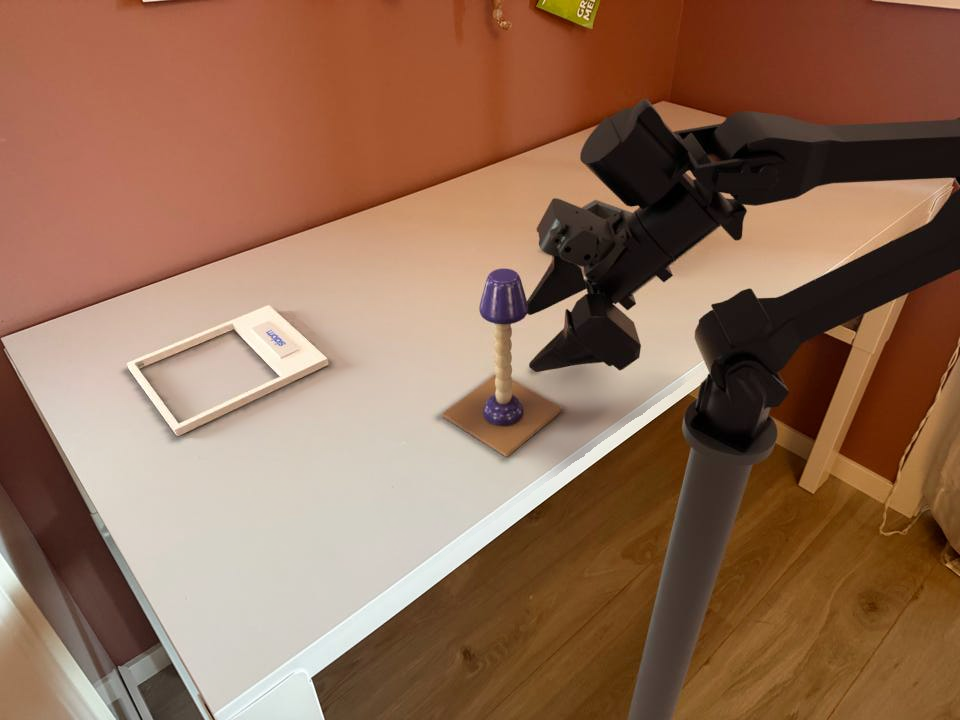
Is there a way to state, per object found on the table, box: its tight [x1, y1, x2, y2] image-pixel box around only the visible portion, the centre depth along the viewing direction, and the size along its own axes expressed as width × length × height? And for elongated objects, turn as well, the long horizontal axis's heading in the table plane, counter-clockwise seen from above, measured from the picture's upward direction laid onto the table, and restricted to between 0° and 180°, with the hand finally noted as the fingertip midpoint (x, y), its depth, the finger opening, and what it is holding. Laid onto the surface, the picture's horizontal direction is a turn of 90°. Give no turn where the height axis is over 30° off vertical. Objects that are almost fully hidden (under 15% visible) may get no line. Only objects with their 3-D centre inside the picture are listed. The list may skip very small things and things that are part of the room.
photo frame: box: [126, 304, 329, 437], centre depth 83 cm, size 15×1×18 cm
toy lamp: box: [478, 267, 528, 426], centre depth 71 cm, size 5×5×17 cm
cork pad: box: [442, 374, 563, 458], centre depth 76 cm, size 9×9×1 cm
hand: (528, 338), depth 70 cm, fingers open, 9 cm apart
